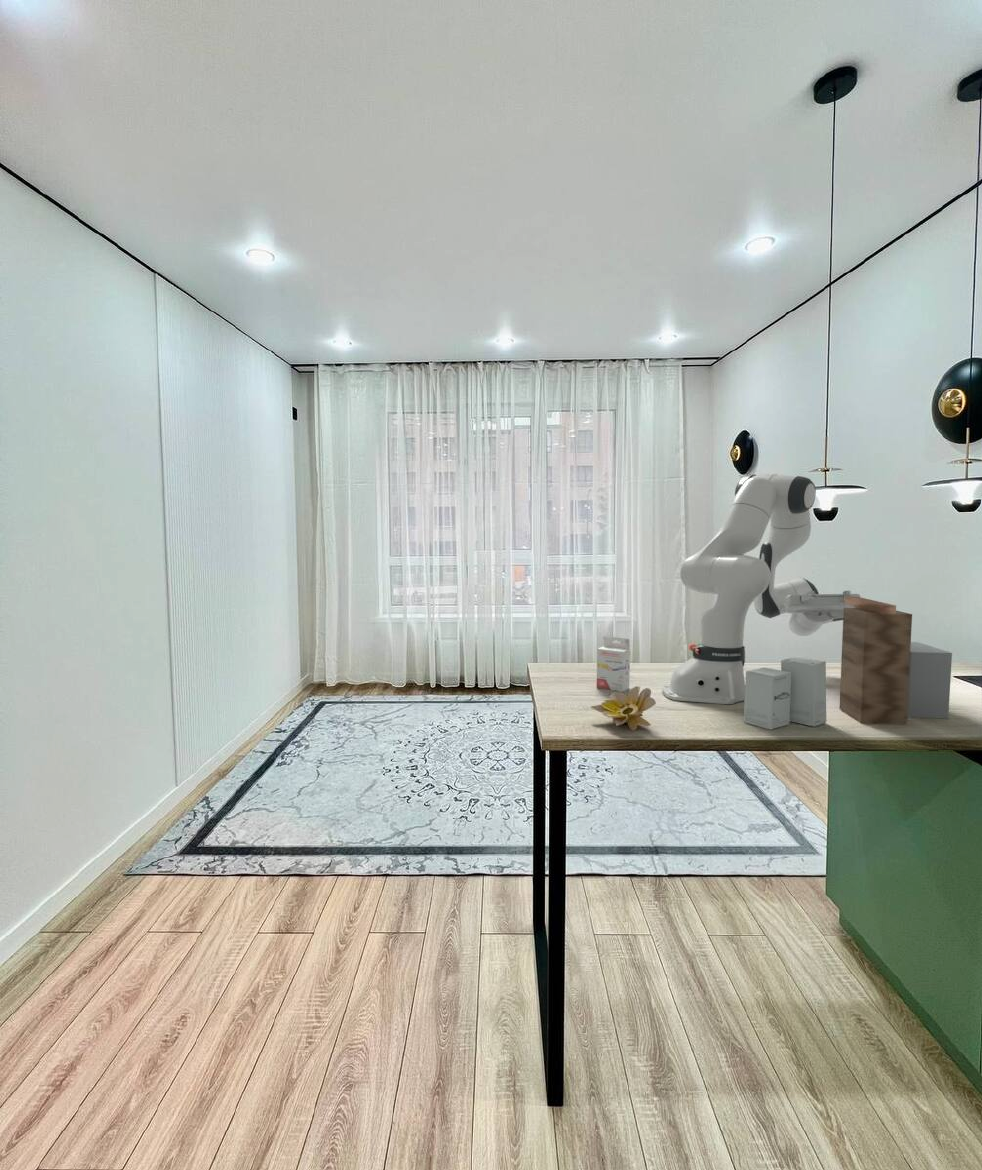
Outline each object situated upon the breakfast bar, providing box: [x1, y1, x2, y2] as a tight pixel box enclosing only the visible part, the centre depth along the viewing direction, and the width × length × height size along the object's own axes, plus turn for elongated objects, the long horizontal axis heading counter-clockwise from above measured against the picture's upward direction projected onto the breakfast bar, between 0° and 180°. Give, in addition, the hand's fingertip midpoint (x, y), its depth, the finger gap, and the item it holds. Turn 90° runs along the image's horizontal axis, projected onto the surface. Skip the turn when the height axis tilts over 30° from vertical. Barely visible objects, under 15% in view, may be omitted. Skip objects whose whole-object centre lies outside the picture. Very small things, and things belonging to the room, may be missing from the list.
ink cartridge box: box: [596, 635, 631, 692], centre depth 181 cm, size 9×5×15 cm, turn 58°
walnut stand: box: [838, 608, 913, 726], centre depth 151 cm, size 10×12×26 cm
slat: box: [845, 596, 897, 614], centre depth 154 cm, size 3×20×2 cm, turn 172°
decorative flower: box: [590, 685, 657, 731], centre depth 147 cm, size 15×11×10 cm
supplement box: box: [743, 667, 791, 731], centre depth 146 cm, size 7×7×13 cm
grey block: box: [907, 641, 953, 719], centre depth 158 cm, size 9×16×16 cm, turn 172°
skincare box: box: [780, 656, 827, 728], centre depth 148 cm, size 8×6×15 cm
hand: (830, 593), depth 178 cm, fingers open, 8 cm apart
